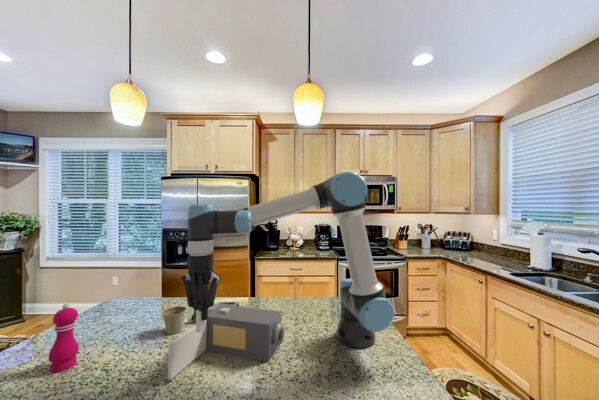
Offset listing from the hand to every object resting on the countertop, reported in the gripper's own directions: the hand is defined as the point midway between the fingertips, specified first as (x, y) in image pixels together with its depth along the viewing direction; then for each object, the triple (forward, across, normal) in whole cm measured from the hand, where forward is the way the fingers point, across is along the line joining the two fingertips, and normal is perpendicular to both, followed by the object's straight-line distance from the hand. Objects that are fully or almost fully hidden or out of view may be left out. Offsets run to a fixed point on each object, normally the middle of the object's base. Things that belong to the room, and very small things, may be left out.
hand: (200, 330), depth 78 cm
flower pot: (+13, +30, -21) cm, 39 cm away
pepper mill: (+13, +46, +9) cm, 48 cm away
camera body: (+14, -6, -18) cm, 24 cm away
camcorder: (+14, +20, -41) cm, 48 cm away
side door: (+12, +7, -3) cm, 15 cm away
